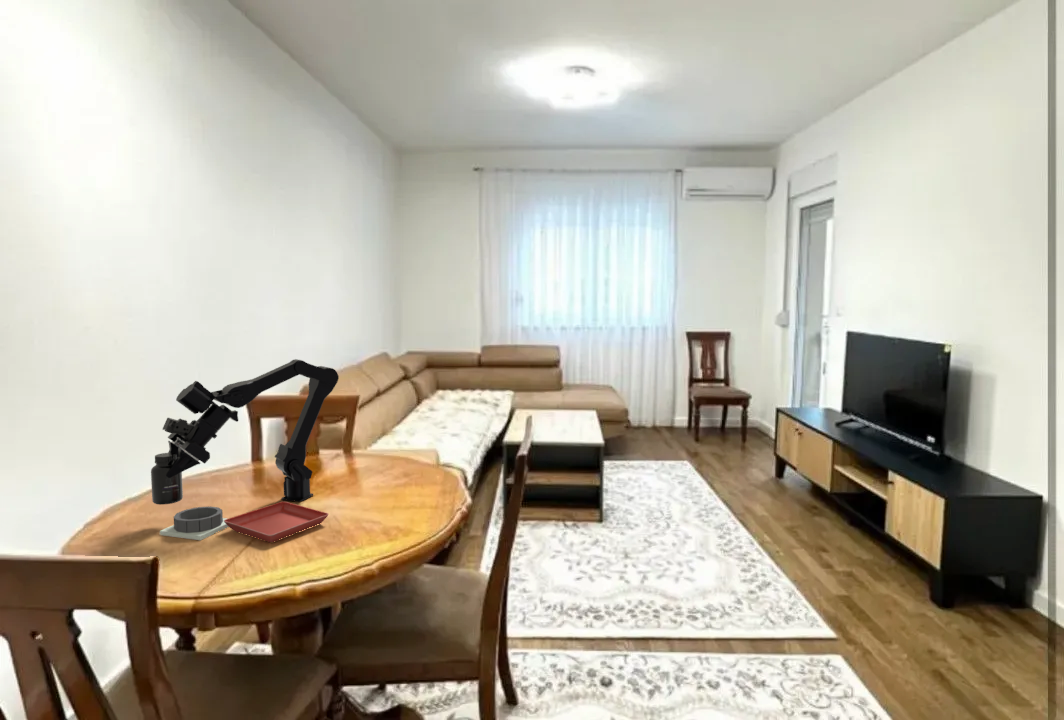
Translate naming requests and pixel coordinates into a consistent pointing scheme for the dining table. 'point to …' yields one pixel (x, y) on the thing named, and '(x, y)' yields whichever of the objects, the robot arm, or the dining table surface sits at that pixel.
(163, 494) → the supplement bottle
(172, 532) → the board
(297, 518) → the plant saucer
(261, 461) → the dining table surface
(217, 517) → the collar
